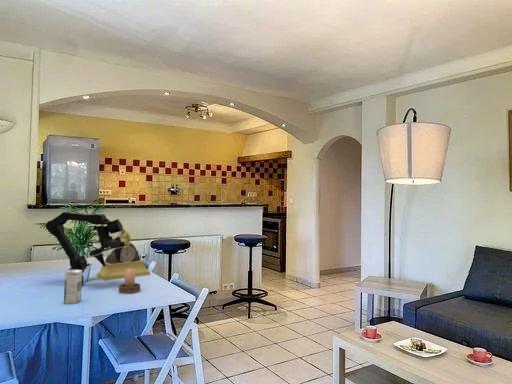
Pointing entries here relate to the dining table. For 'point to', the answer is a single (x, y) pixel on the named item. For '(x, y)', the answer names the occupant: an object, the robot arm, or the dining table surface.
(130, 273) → the terracotta canister
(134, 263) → the decorative clock
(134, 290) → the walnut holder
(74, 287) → the syrup box
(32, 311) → the dining table surface
